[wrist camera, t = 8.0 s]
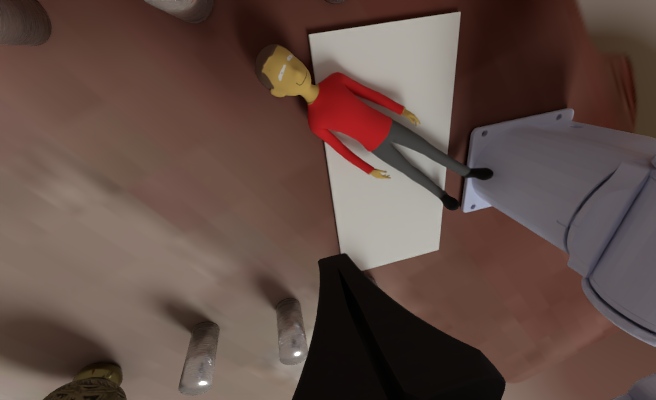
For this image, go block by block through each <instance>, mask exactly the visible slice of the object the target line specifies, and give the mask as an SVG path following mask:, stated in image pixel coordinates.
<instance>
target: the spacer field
mask: <svg viewBox="0 0 656 400" xmlns="http://www.w3.org/2000/svg"><path fill="white" fill-rule="evenodd" d="M144 1H146V2H147V3H149V4H150V5H152V6H154V7H156V8H159V9H161V10H163V11H165V12H167V13H169V14H171V15H173V16H175V17H177V18H179V19H181V20H183V21H185V22H188V23H194V24H196V23H201V22H204V21H205V20H207V19H208V18H209V16H210V15H211V13H212V10H213V5H214V0H144ZM325 1H326V2H328V3H331V4H340V3H343V2H344V1H346V0H325ZM50 35H51V23H50V19H49V17H48V15H47V13H46V12H45V10H44V9H43V7H42V6H41V5H40V4H39V3H38V2H37V1H36V0H0V44H7V45H27V46H37V45H41V44H43V43H45V42H46V41H47V40H48V39H49V37H50ZM368 278H369V279H370V280H371V281H372V282H373V283H374V284H375V285H377V283H376V282H375V280H374V279H373V278H371V277H368ZM377 286H378V285H377ZM276 313H277V327H278V342H279V357H280V361H281V362H282V363H283V364H286V365H295V364H298V363H301V362H302V361H304V360H305V359H306V358H307V355H308V347H307V341H306V335H305V329H304V323H303V317H302V311H301V305H300V302H299V301H298V300H296V299H285V300H283V301H281V302H280V303H279V304H278V305H277V307H276ZM219 331H220V329H219V327H218V325H216V324H214V323H211V322H203V323H200V324H198V325H196V326H195V327H194V328H193V330H192V334H191V338H190V342H189V347H188V351H187V355H186V359H185V363H184V367H183V371H182V375H181V379H180V383H179V391H180V392H181V393H183V394H185V395H199V394H202V393H205V392H207V391H208V390H209V389H210V388H211V386H212V379H213V372H214V366H215V359H216V352H217V345H218V338H219Z"/></svg>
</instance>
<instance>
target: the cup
mask: <svg viewBox="0 0 656 400" xmlns="http://www.w3.org/2000/svg"><path fill="white" fill-rule="evenodd" d="M122 380H123V375H122V371H121V369H120V368H119V367H117V366H116V365H113V364H109V363H96V364H91V365H89V366H86V367H85V368H83V369H82V370H81V371H80V372H78V373H77V374H76V375H75V377H74V378H73V381H72V382H70V383H68V384H65V385H63V386H61V387H59V388H58V389H56V390H55V391H53V392H52V393H50V394H49V395H48V396H47V397H45V398H44V399H43V400H127V399H126V395H125V393H124V391H123V389H122V388H121V387H120V384H121V383H122Z"/></svg>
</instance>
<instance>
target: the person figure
mask: <svg viewBox="0 0 656 400" xmlns="http://www.w3.org/2000/svg"><path fill="white" fill-rule="evenodd" d="M255 73H256V75H257V77H258V79H259V81H260V82H261V83H262V84H263V85H264V86H265V87H266V88H268V89H269V90H270V91H271V93H272V94H273V95H274V96H277V97H284V96H285V95H290V96H296V95H302V96H303V97H304V98H305V99H306V101H307V106H308V124H309V127H310V130H311V131H312V132H313V133H314V134H316V135H317V136H318V137H319V138H321V139H322V140H323V141H325V142H326V143H327V144H328V145H330V146H331V147H332V148H333V149H334V150H335V151H336V152H337V153H339V154H340V155H341V156H342V157H343V158H345V159H346V160H347V161H349V162H350V163H352V164H353V165H355V166H356V167H358V168H360V169H361V170H363V171H364V172H366V173H367V174H368V175H370V174H371V175H372V176H374V177H376V178H379V179H391V177H389V176H390V175H388V176H386V174H385V175H382V174H381V173H387V171H383V170H379V169H375V168H374V167H373V166H371V165H370V164H368V163H367V162H365V161H364V160H362V159H361V158H359V157H358V156H357V155H356V154H354V153H353V152H352V151H351V150H350V149H348V148H347V147H346V146H345V145H344V144H343V143H342V142H341V141H340V140H339V139H338V138H337V137H336V136H335V135H334V134H333V133H332V132H330V131H329V130H333V131H337V132H341V133H343V134H345V135H347V136H349V137H351V138H353V139H355V140H357V141H358V142H360V143H361V144H362V145H363V146H364V148H365V149H366V150H367V151H369V152H372V153H373V154H374V155H375V156H377V157H378V158H379V159H381V160H382V161H384V162H385V163H387V164H388V165H390V166H392V167H393V168H395V169H397V170H398V171H400V172H401V173H404V174H405V175H406V176H407V177H409V178H410V179H411V180H413V181H415V182H416V183H418V184H420V185H421V186H423V187H424V188H426V189H427V190H429V191H430V192H431V193H433V194H434V195H435V196H436V197H438V198H439V199H440V200H441V201H442V203H443V204H444V206H445V207H446V208H447V209H449V210H456V209H458V207H459V202H458V201H457V200H456V199H455V198H453V197H451V196H449V195H448V194H447V193H446V192H445V191H444V190H442V189H441V188H440V187H439V186H437V185H436V184H435V183H434V182H433V181H432V180H430V179H429V178H428V177H427V176H426V175H425V174H424V173H422V172H421V171H420V170H419V169H417V168H415V167H414V166H412V165H411V164H410V163H409V162H408V161H407V160H406V159H405V158H404V156H403V155H402V154H401V153H400V152H399V151H398V150H397V149H396V148H394V146H393V145H392V144H391V142H394V143H396V144H399V145H402V146H404V147H407V148H409V149H412V150H414V151H417V152H419V153H421V154H423V155H425V156H427V157H428V158H430V159H431V160H433V161H435V162H437V163H439V164H441V165H442V166H444V167H446V168H448V169H450V170H452V171H454V172H456V173H458V174H460V175H461V176H463V177H464V178H477V179H480V180H488V179H490V178H492V176H493V171H492V170H491V169H489V168H470V167H468V166H466V165H464V164H462V163H460V162H458V161H456V160H454V159H453V158H451V157H450V156H448V155H447V154H445V153H443V152H442V151H440V150H439V149H437V148H435V147H434V146H433V145H431V144H430V143H429V142H428V141H426V140H425V139H424V138H422V137H421V136H419V135H418V134H416V133H415V132H413V131H412V130H410V129H409V128H407V127H405V126H403V125H402V124H400V123H398V122H396V121H395V120H393V119H391V117H388V116H386V115H385V114H383V113H381V112H379V111H378V110H376V109H373V108H372V107H370V106H368V105H367V104H365V103H364V102H362V101H361V100H360V99H359V98H357V97H356V96H359V97H361V98H364V99H366V100H369V101H371V102H374V103H376V104H378V105H381V106H383V107H385V108H387V109H389V110H391V111H393V112H395V113H397V114H399V115H400V116H401V115H403V116H405V117H406V118H408V119H409V120H410V121H411V122H412V123H413V124H414V120H415V126H417V122H418V123H419V124H421V123H420V121H419V120H418V118H417V117H416V116H415V115H414V114H413V113H411V112H410V111H408V110H406V109H405V108H406V107H405V106H403V105H401V104H399V103H397V102H395V101H393V100H392V99H390V98H388V97H387V96H385V95H383V94H381V93H379V92H377V91H374V90H372V89H370V88H368V87H366V86H364V85H362V84H360V83H358V82H356V81H355V80H353V79H351V78H349V77H348V76H346V75H345V74H343V73H339V72H335V73H332V74H331V75H329V76H328V77H327V78H325V79H324V80H323V81H321V82H320V83H318V84H316V85H312V84H311V76H310V73H309V71H308V69H307V68H306V67H305V65H304V64H303V63H302V62H301V61H300V60H298V59H297V58H296V57H295V56H294V55H293V54H292V53H291V52H290V51H288V50H287V49H286V48H284V47H283V46H281V45H278V44H271V45H268V46H266V47H265V48H263V49H262V50H261V51H260V52H259V54H258V56H257V58H256V61H255ZM355 95H356V96H355ZM328 129H329V130H328Z"/></svg>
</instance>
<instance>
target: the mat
mask: <svg viewBox="0 0 656 400" xmlns="http://www.w3.org/2000/svg"><path fill="white" fill-rule="evenodd" d="M460 15H461V12H455V13H448V14H442V15H435V16H428V17H422V18H415V19H408V20H402V21H395V22H389V23H382V24H375V25H369V26H362V27H355V28H349V29H342V30H336V31H329V32H322V33H316V34H309V35H308V37H309V44H310V50H311V57H312V64H313V71H314V77H315V84H318V83H320V82H321V81H323V80H324V79H325V78H327V77H328V76H329V75H331V74H332V73H335V72H339V73H343V74H345V75H346V76H348V77H349V78H351V79H353V80H355V81H356V82H358V83H360V84H362V85H364V86H366V87H368V88H370V89H372V90H374V91H377V92H379V93H381V94H383V95H385V96H387V97H388V98H390V99H392V100H393V101H395V102H397V103H399V104H401V105H403V106H405V107H406V108H405V109H406V110H408V111H410V112H411V113H413V114H414V115H415V116H416V117H417V118H418V120H419V121H420V123H421V124H419V123H418V122H417V126H415V120H414V124H413V123H412V122H411V121H410V120H409V119H408V118H406V117H405V116H403V115H401V116H400V115H399V114H397V113H395V112H393V111H391V110H389V109H387V108H385V107H383V106H381V105H378V104H376V103H374V102H371V101H369V100H366V99H364V98H361V97H359V96H356V95H355V96H356V97H357V98H359V99H360V100H361V101H362V102H364V103H365V104H367V105H368V106H370V107H372V108H373V109H376V110H378V111H379V112H381V113H383V114H385V115H386V116H388V117H391V119H393V120H395V121H396V122H398V123H400V124H402V125H403V126H405V127H407V128H409V129H410V130H412V131H413V132H415V133H416V134H418V135H419V136H421V137H422V138H424V139H425V140H426V141H428V142H429V143H430V144H431V145H433V146H434V147H435V148H437V149H439V150H440V151H442V152H443V153H445V154H448V144H449V133H450V122H451V112H452V101H453V90H454V79H455V69H456V58H457V47H458V37H459V26H460ZM328 130H329V129H328ZM329 131H330V132H332V133H333V134H334V135H335V136H336V137H337V138H338V139H339V140H340V141H341V142H342V143H343V144H344V145H345V146H346V147H347V148H348V149H350V150H351V151H352V152H353V153H354V154H356V155H357V156H358V157H359V158H361V159H362V160H364V161H365V162H367V163H368V164H370V165H371V166H373V167H374V168H375V169H379V170H383V171H387V173H381V174H382V175H385V174H386V176H388V175H390V176H389V177H391V179H379V178H376V177H374V176H372V175H371V174H370V175H368V174H367V173H366V172H364V171H363V170H361V169H360V168H358V167H356V166H355V165H353V164H352V163H350V162H349V161H347V160H346V159H345V158H343V157H342V156H341V155H340V154H339V153H337V152H336V151H335V150H334V149H333V148H332V147H331V146H330V145H328V144H327V143H326V142H325V141H324V145H325V152H326V158H327V165H328V172H329V179H330V185H331V192H332V199H333V206H334V212H335V219H336V226H337V233H338V239H339V246H340V253H341V254H342V253H346V254H348V256H349V257H350V258H351V260H352V261H353V262H354V263H355V264H356V265H357V267H358V268H359V269H360V270H361V271H363V270H367V269H370V268H374V267H378V266H381V265H385V264H389V263H392V262H396V261H399V260H403V259H407V258H410V257H414V256H418V255H421V254H425V253H428V252H432V251H436V250H439V240H440V229H441V219H442V208H443V203H442V201H441V200H440V199H439V198H438V197H436V196H435V195H434V194H433V193H431V192H430V191H429V190H427V189H426V188H424V187H423V186H421V185H420V184H418V183H416V182H415V181H413V180H411V179H410V178H409V177H407V176H406V175H405V174H404V173H401V172H400V171H398V170H397V169H395V168H393V167H392V166H390V165H388V164H387V163H385V162H384V161H382V160H381V159H379V158H378V157H377V156H375V155H374V154H373V153H372V152H369V151H367V150H366V149H365V148H364V146H363V145H362V144H361V143H360V142H358V141H357V140H355V139H353V138H351V137H349V136H347V135H345V134H343V133H341V132H337V131H333V130H329ZM391 144H392V145H393V146H394V148H396V149H397V150H398V151H399V152H400V153H401V154H402V155H403V156H404V158H405V159H406V160H407V161H408V162H409V163H410V164H411V165H412V166H414V167H415V168H417V169H419V170H420V171H421V172H422V173H424V174H425V175H426V176H427V177H428V178H429V179H430V180H432V181H433V182H434V183H435V184H436V185H437V186H439V187H440V188H441V189H442V190H444V187H445V176H446V167H444V166H442V165H441V164H439V163H437V162H435V161H433V160H431V159H430V158H428V157H427V156H425V155H423V154H421V153H419V152H417V151H414V150H412V149H409V148H407V147H404V146H402V145H399V144H396V143H394V142H391Z"/></svg>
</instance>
